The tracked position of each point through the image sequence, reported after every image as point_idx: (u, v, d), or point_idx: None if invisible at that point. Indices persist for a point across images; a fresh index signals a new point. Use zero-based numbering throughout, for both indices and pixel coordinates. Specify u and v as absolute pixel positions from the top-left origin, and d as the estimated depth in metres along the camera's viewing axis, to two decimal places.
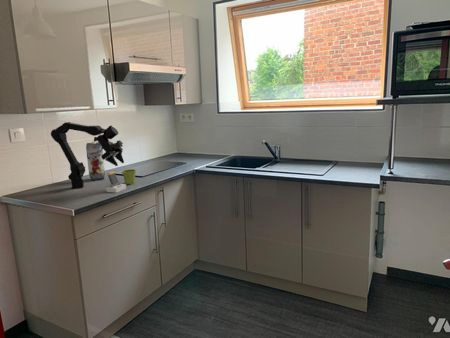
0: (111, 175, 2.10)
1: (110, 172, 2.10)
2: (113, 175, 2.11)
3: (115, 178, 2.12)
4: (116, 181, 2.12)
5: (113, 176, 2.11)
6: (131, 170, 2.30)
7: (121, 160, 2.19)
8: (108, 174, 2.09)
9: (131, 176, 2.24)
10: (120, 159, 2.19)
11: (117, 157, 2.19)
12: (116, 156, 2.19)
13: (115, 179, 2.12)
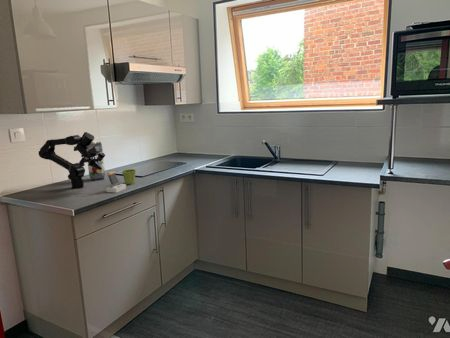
0: (111, 175, 2.10)
1: (110, 172, 2.10)
2: (113, 175, 2.11)
3: (115, 178, 2.12)
4: (116, 181, 2.12)
5: (113, 176, 2.11)
6: (131, 170, 2.30)
7: None
8: (108, 174, 2.09)
9: (131, 176, 2.24)
10: None
11: None
12: None
13: (115, 179, 2.12)
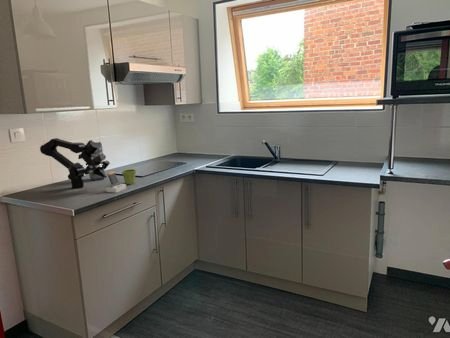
0: (111, 175, 2.10)
1: (110, 172, 2.10)
2: (113, 175, 2.11)
3: (115, 178, 2.12)
4: (116, 181, 2.12)
5: (113, 176, 2.11)
6: (131, 170, 2.30)
7: None
8: (108, 174, 2.09)
9: (131, 176, 2.24)
10: None
11: None
12: None
13: (115, 179, 2.12)
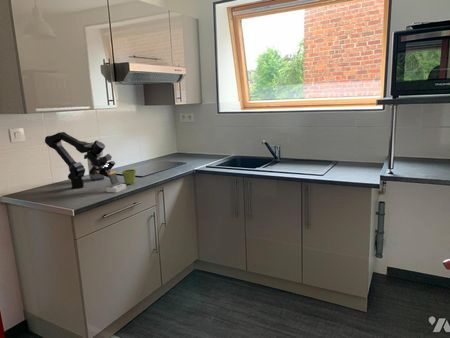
0: (112, 175, 2.10)
1: (111, 172, 2.09)
2: (114, 175, 2.11)
3: (115, 178, 2.12)
4: (116, 181, 2.12)
5: (114, 176, 2.11)
6: (131, 170, 2.30)
7: None
8: (109, 174, 2.08)
9: (131, 176, 2.24)
10: None
11: None
12: None
13: (115, 179, 2.12)
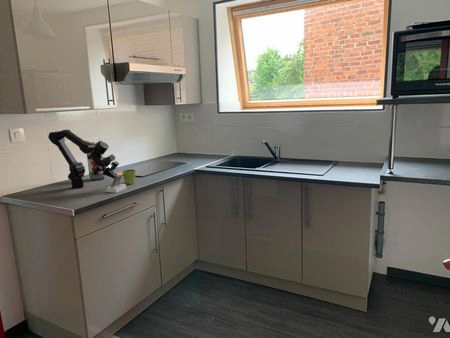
0: (118, 177, 2.08)
1: (119, 174, 2.08)
2: (119, 177, 2.10)
3: (119, 180, 2.11)
4: (118, 182, 2.12)
5: (119, 178, 2.10)
6: (131, 170, 2.30)
7: None
8: (116, 175, 2.07)
9: (131, 176, 2.24)
10: None
11: None
12: None
13: (118, 180, 2.11)
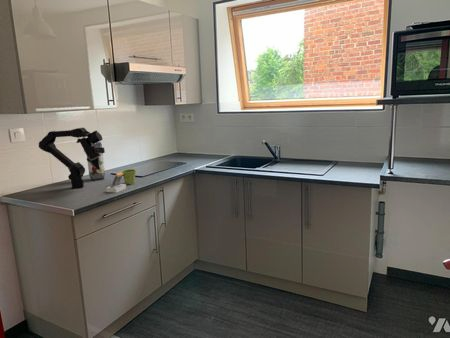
0: (118, 177, 2.08)
1: (119, 175, 2.08)
2: (119, 177, 2.10)
3: (119, 180, 2.11)
4: (118, 182, 2.12)
5: (119, 178, 2.10)
6: (131, 170, 2.30)
7: None
8: (116, 175, 2.07)
9: (131, 176, 2.24)
10: None
11: None
12: None
13: (118, 180, 2.11)
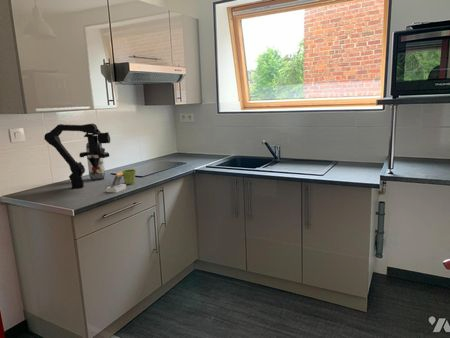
0: (118, 177, 2.08)
1: (119, 175, 2.08)
2: (119, 177, 2.10)
3: (119, 180, 2.11)
4: (118, 182, 2.12)
5: (119, 178, 2.10)
6: (131, 170, 2.30)
7: None
8: (116, 175, 2.07)
9: (131, 176, 2.24)
10: None
11: (92, 160, 2.18)
12: (92, 159, 2.17)
13: (118, 180, 2.11)
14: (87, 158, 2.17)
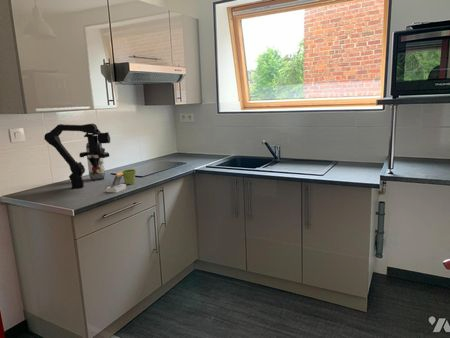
0: (118, 177, 2.08)
1: (119, 175, 2.08)
2: (119, 177, 2.10)
3: (119, 180, 2.11)
4: (118, 182, 2.12)
5: (119, 178, 2.10)
6: (131, 170, 2.30)
7: None
8: (116, 175, 2.07)
9: (131, 176, 2.24)
10: None
11: (92, 160, 2.18)
12: (92, 159, 2.17)
13: (118, 180, 2.11)
14: (87, 158, 2.17)
